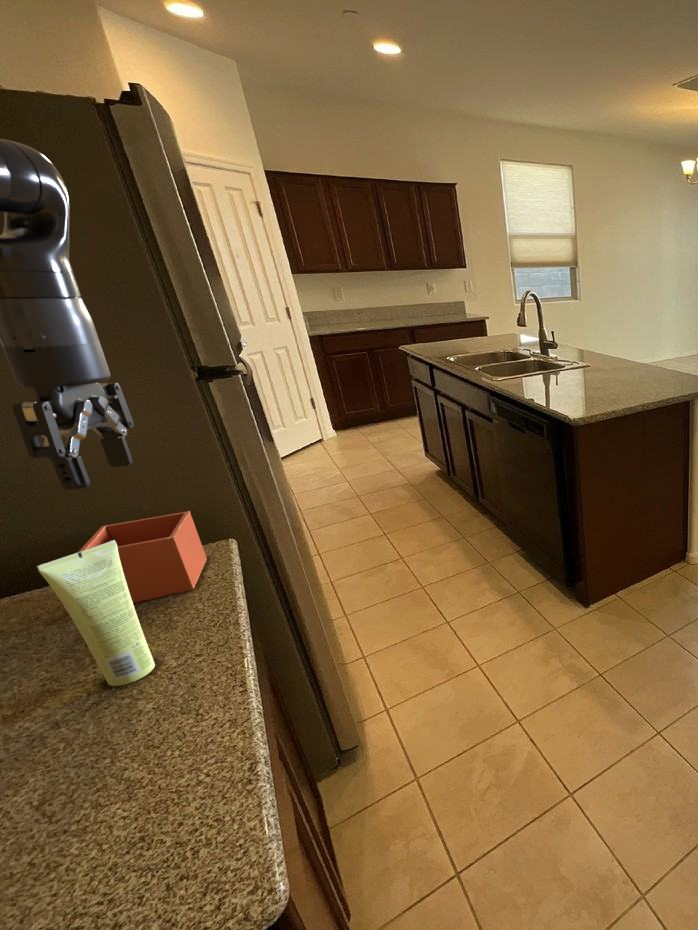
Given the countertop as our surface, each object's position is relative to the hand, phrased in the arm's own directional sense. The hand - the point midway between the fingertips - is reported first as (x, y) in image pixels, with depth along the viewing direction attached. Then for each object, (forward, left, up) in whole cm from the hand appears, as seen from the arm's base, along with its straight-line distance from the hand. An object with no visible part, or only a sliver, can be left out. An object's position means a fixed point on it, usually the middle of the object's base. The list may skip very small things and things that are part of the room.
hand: (101, 476), depth 64 cm
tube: (-5, -1, -29) cm, 30 cm away
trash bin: (-16, +26, -29) cm, 42 cm away
